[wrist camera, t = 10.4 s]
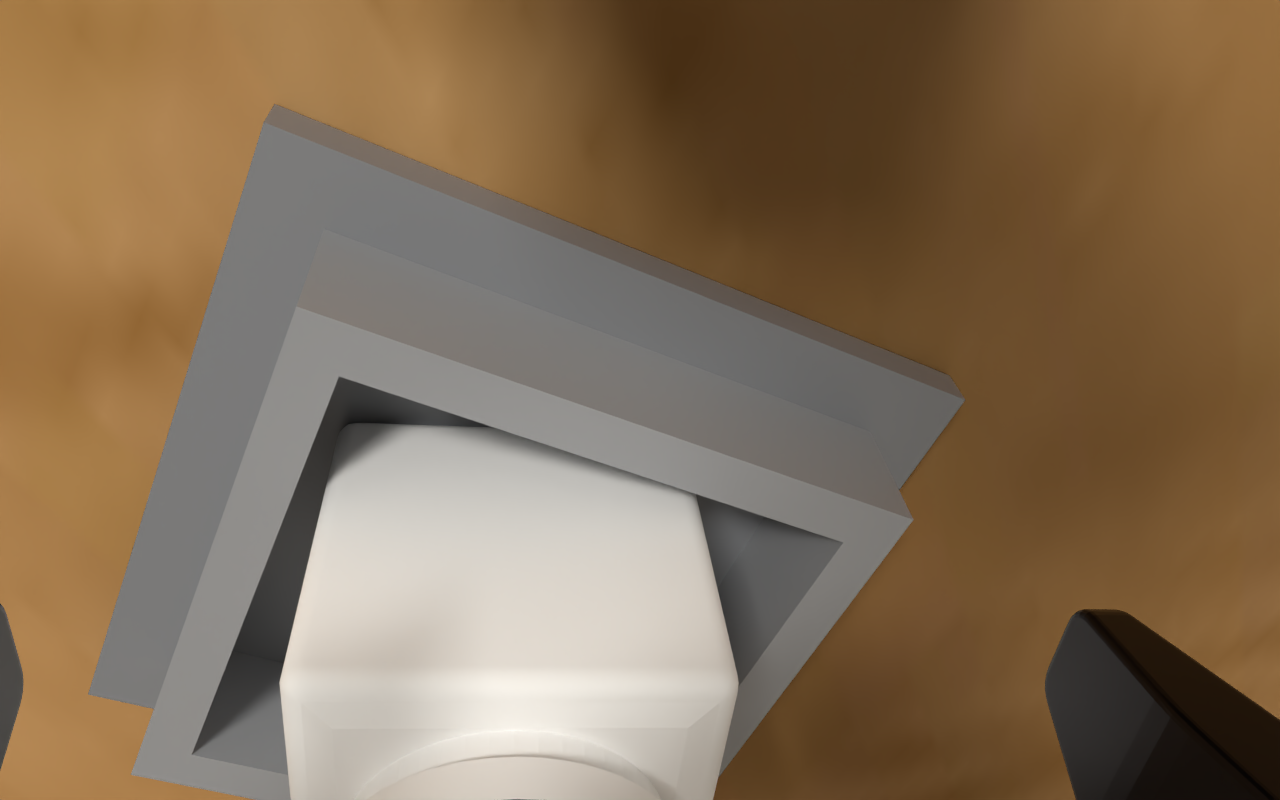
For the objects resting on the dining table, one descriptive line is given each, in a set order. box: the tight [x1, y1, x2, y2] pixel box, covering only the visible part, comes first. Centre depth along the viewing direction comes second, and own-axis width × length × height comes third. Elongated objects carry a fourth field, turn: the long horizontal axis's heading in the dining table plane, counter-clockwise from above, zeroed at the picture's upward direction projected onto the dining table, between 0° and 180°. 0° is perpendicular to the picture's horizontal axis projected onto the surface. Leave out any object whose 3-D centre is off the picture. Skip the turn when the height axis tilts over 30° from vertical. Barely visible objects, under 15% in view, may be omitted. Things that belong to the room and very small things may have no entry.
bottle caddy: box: [88, 104, 965, 800], centre depth 23 cm, size 15×15×4 cm
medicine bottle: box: [279, 423, 739, 800], centre depth 19 cm, size 7×7×12 cm
